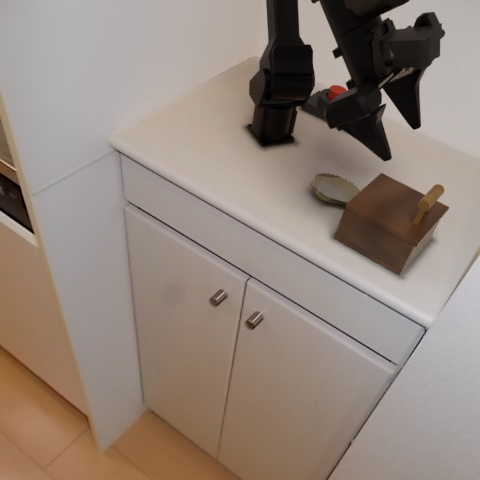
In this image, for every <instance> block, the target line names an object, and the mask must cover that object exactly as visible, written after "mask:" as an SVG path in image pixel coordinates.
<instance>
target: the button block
mask: <svg viewBox="0 0 480 480" xmlns="http://www.w3.org/2000/svg"><path fill="white" fill-rule="evenodd" d="M329 88H330V87H329ZM329 88H323V89H322V90H318V91H316V92H315V93H312V94H311V95H310V97H309V99H308V102H307V104H306V106H305V107H300V110H302V111H304V112H305V113H308V114H311V115H312V116H314V117H317V118H318V119H320V120H322V121H324V122H326V120H325V118H324V115H323V114H324V110H325V107H326V105H327V104H328V103H329V102H330V101H332V100H330V99H329V98H328V97H327V96H328V92H329Z"/></svg>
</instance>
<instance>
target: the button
mask: <svg viewBox="0 0 480 480" xmlns="http://www.w3.org/2000/svg"><path fill="white" fill-rule="evenodd" d="M345 91H348V89H347V88H346V87H344V86H342V85H338V84H333V85H330V86H329V92H328V96H327V97H328V98H329V99H330V100H333V99H334V98H335V97H336V96H338V95H339V94H341V93H343V92H345Z"/></svg>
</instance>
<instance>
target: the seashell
mask: <svg viewBox="0 0 480 480" xmlns="http://www.w3.org/2000/svg"><path fill="white" fill-rule="evenodd" d="M309 187H311V188H312V189H313V190H314V193H315V195H316V197H317V198H318V199H320V200H321V201H324V202H326V203H332V204H339V205H340V204H341V205H344V204H345V205H346V204H347V203H348V202H349V201H350V200H351V199H352V198H353V197H355V196H356V195H357V194H358V193H359V192H360V191H361V190H360V188H358V187H357V185H355V183H354V182H351V181H350V180H348V179H347V178H343V177H342V176H339V175H337V174H336V175H335V174H333V173H326V172H319V173H317V174H315V176H314V179H313V180H312V181H311V182H310V183H309Z"/></svg>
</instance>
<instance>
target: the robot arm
mask: <svg viewBox="0 0 480 480" xmlns="http://www.w3.org/2000/svg"><path fill="white" fill-rule="evenodd" d="M310 2H311V3H312V4H313V5H314V4H316V3H318V2H319V4H320V7H321V9H322V12H323V14H324V16H325V18H326V21H327V23H328V26H329V28H330V30H331V33H332V35H333V38H334V41H335V43H336V45H337V46H336V47H335V48H334V49H333V50H332V51H331V52H332V55H333V57H334V59H335V60H336V59H338V58H340V57H342V60H343V62H344V65H345V67H346V70H347V72H348V74H349V77H350V78H349V79H348V80H347V81H346V82H345V85H346V89H347V91H345V92H343V93H341V94H339V95H338V96H336V97H335V98H334V99H333V100H332V101H330V102H329V103H328V104H327V105H326V107H325V110H324V114H323V115H324V118H325V120H326V121H325V120H324V121H325V122H326V124H327V127H328V128H329V130H334V129H335V128H336V130H337V131H338V132H341V131H343V132H344V133H346V134H348V136H350V137H353V139H355V140H357V141H358V142H359V143H361V144H362V145H363V146H364V147H365V148H367V149H368V150H369V151H370V152H372V153H373V154H374V155H375V156H376V157H378V158H379V159H380V160H381V161H382V162H389V161H391V160H392V158H393V156H392V155H393V154H392V150H391V147H390V144H389V141H388V137H387V134H386V131H385V127H384V122H383V116H384V114H385V110H386V108H387V103H383V104H382V102H383V93H382V90H383V92H385V94H386V95H387V97H388V98H389V100H390V101H391V102H392V104H393V105H394V107H395V108H396V109H397V111H398V112H399V114H400V115H401V117H402V118H403V119H404V121H405V122H406V123H407V124H408V126H409V127H410V128H411V129H412V130H413V131H415V130H419V129H420V128H421V127H422V118H421V116H422V113H421V95H420V92H421V91H420V89H421V88H420V87H421V86H420V84H421V83H420V82H421V80H422V78H423V76H424V74H425V73H426V70H427V69H428V68H429V67H430V66H432V64H433V62H434V61H435V59H438V58H439V57H440V56H441V40H442V39H443V38H445V36H446V30H445V29H443V23H442V22H440V20H439V18H438V16H437V14H436V12H435V11H428V12H422V13H421V14H420V15H419V16H417V17H416V19H415V22H414V23H413V26H412V25H407V26H406V27H405V28H396V25H395V23H394V21H393V19H391V18H390V17H387V18H384V19H382V15H385V14H386V13H388V12H391V11H392V10H393V11H394V9H397V8H400V7H401V6H404V5H406V4H407V3H408V2H410V0H310ZM265 5H266V6H265V7H266V24H267V44H266V47H265V49H264V50H263V53H262V54H261V57H260V59H259V62H258V63H259V64H258V66H259V69H258V70H257V72H255V74H254V75H253V76H252V78H250V79H249V83H248V95H249V97H250V99H251V101H252V103H253V104H254V109H253V113H252V120H251V123H248V124H246V129H247V130H248V131H249V133H250V134H251V135H252V137H253V138H254V139H255V140H256V141H257V143H258V145H260V146H261V147H263V148H265V147H271V146H277V145H278V146H279V145H286V144H293V143H295V141H296V138H295V137H294V136H293V133H294V131H295V125H296V122H297V117H298V110H297V109H298V108H301V107H305V106H306V104H307V102H308V99H309V97H310V96H311V95H312V94H313V93H312V92H313V91H314V88H315V86H316V75H315V68H314V50H313V47H312V45H311V44H310V43H308V44H306V43H305V42H304V40H303V39H302V37H301V33H300V18H299V17H300V16H299V15H300V14H299V13H300V11H299V0H265Z"/></svg>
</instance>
